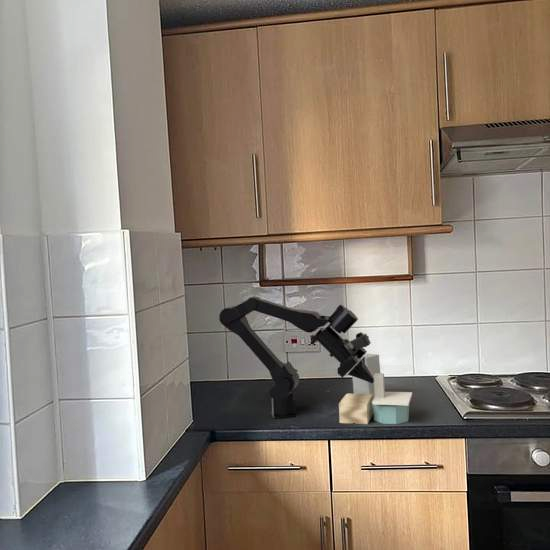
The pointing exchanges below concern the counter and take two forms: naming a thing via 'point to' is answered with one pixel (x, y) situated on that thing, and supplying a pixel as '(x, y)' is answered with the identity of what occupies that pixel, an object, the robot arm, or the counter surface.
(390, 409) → the bowl
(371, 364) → the skincare box
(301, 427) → the counter surface
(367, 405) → the block
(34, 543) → the counter surface
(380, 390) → the lid
